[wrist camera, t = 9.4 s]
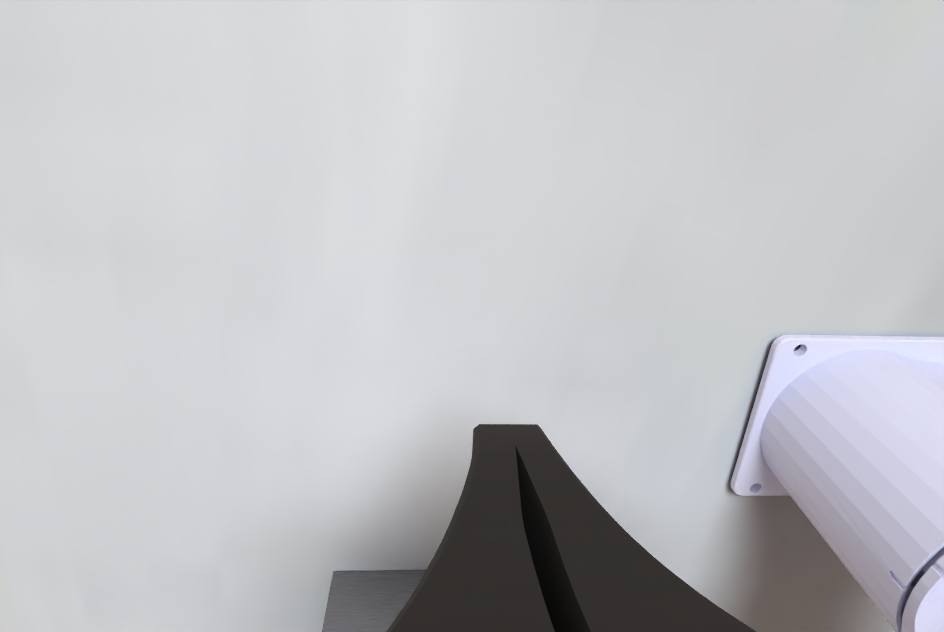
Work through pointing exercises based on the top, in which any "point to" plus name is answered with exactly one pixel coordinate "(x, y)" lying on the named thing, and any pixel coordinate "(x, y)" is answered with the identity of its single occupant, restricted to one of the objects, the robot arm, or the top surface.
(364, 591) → the block
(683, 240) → the top surface
